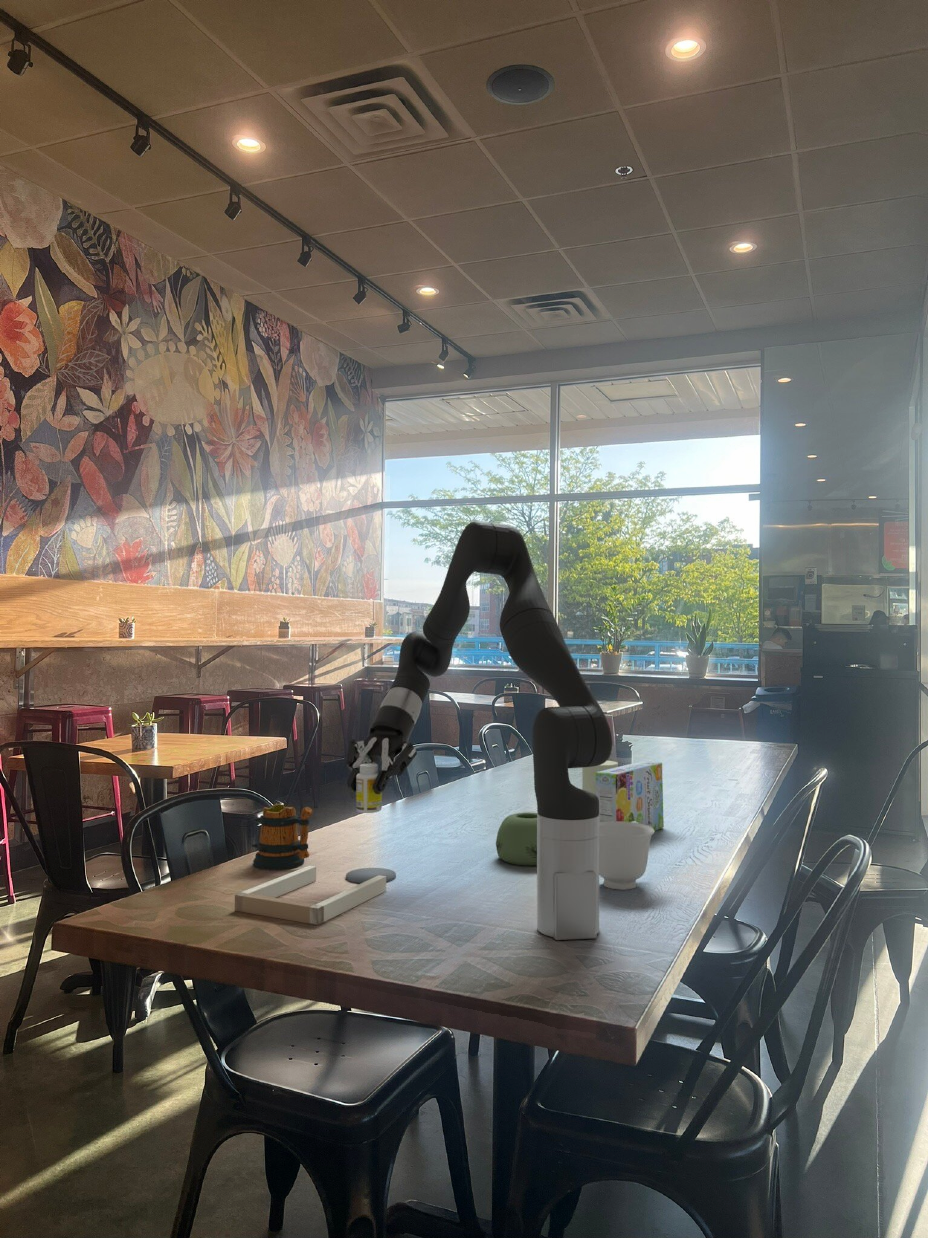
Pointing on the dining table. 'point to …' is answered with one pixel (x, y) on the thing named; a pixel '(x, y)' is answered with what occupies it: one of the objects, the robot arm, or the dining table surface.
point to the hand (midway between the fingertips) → (363, 790)
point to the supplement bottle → (367, 789)
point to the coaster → (369, 874)
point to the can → (594, 775)
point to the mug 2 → (518, 839)
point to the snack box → (631, 794)
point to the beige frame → (267, 904)
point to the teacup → (623, 853)
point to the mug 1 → (282, 838)
